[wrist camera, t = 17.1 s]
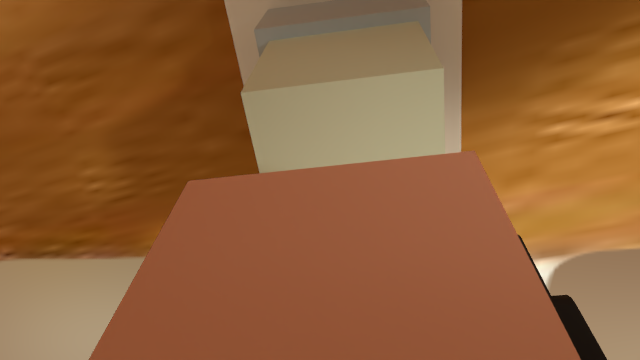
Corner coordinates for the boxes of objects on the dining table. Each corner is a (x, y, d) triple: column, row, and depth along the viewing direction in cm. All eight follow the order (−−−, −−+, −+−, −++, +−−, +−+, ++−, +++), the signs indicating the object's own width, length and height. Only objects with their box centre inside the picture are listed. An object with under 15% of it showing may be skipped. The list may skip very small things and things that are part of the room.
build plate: (223, -34, 23) (192, -16, 19) (457, -69, 22) (484, -59, 17) (267, 166, 29) (252, 216, 24) (456, 147, 27) (477, 196, 23)
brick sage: (268, 40, 20) (240, 92, 15) (418, 20, 19) (443, 68, 14) (293, 168, 23) (277, 249, 18) (423, 155, 22) (446, 235, 17)
